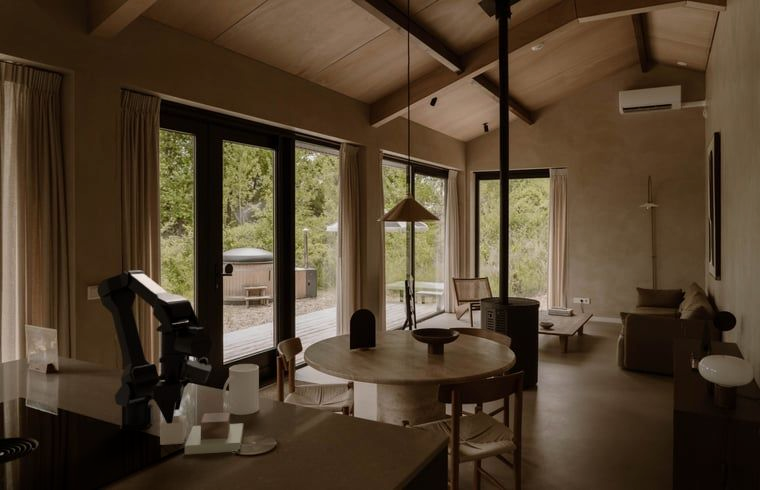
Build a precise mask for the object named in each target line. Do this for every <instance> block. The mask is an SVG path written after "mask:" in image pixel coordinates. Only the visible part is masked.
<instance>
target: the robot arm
mask: <svg viewBox="0 0 760 490" xmlns="http://www.w3.org/2000/svg"><path fill="white" fill-rule="evenodd" d="M96 291H97V294H98V296H99V298H100V301H101V304H102V306H103V307H105V309H106V310H107V311H109V313H111V315H112V319H113V323H114V327H115V332H116V335H117V339H118V343H119V347H120V352H121V355H122V360H123V363H124V369H123V370H122V371H123V372H122V374H121V377H120V382H121V386H120V387H119V389H118V390H117V392H116V393H115V394H114V400H115V404H116V405H117V406H118V405H119V406H121V425H120V427H119V430H120V431H129V430H146V429H148V427H149V426H150V425H151V424H152V422H153V421H154V405H153V404H152V400H153V401H154V402H155V403H156V405H157V406H158V409H159V410H160V412H161V414H162V417H163V419H165V420H166V422H167V424H171V423H172V421H173V416H175V411H179V410H180V408H181V404H182V400H183V399H182V398H183V395H184V391H185V387H187V386H188V384H190V383H191V381H192V380H195V381H198V382H199V383H200V384H206V382H207V380H208V379H209V378H208V377H209V376H210V374H211V373H210V372H211V371H212V368H213V367H212V366H211V364H209V359H208V358H207V357H206V356H208V354H209V353H210V351H211V350H212V345H213V343H212V339H211V338H210V336H209V335H208V334H207V333H205V328H204V327H200V326H201V324H200V322H199V318H198V317H197V314H196V312H195V309H194V308H193V306H192V303H191V301H190V300H189V299H188V298H185V296H181V295H179V294H174V293H170V292H168V291H166V290H165V288H162V286H160V285H159V284H158V283H157V282H155V281H154V280H153V279H151V278H150V277H149V276H147V275H146V272H145V271H144V270H140V269H137V270H133V269H132V270H126V271H123V272H121V273H120V274H118V275H114V276H112V277H109V278H104V279H102V280H101V282H100V283H99V284H98V285H97V290H96ZM137 296H138V297H139V298H140V299H142V300H143V301H144V302H145V303H146V304H147V305H149V306H150V307H151V308H152V309H153V310H152V314H153V315H152V316H154V318H156V320H157V321H158V322H159V323H160V325H158V326H157V328H156V329H155V330H156V332H160V335H161V337H160V339H161V341H160V342H161V343H160V348H161V349H160V356H159V359H158V363H159V364H160V374H159V373H158V367H157V365H156V364H155V363H150V362H149V361H147V360H146V356H145V352H144V349H143V345H142V340H141V337H140V333H139V330H138V325H137V322H136V318H135V314H134V313H135V312H134V310H133V306H134V303H135V300H136V298H137ZM190 357H192V358H196V359H199V360H196V359H195V360H192V359H190Z"/></svg>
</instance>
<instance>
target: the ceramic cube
mask: <svg viewBox="0 0 760 490" xmlns="http://www.w3.org/2000/svg"><path fill="white" fill-rule="evenodd" d="M159 425H160V426H159V428H160V429H159V431H160V434H159V437H160V439H159V441H160V443H159V445H160V446H161V445H162V446H163V445H164V446H165V445H178V444H184V443H185V442H184V441H185V439H186V436H187V415H174V416H173V421H172V423H171V424H167V422H166V420H165V419H164V418H163V419H162V420H161V422H160V424H159Z"/></svg>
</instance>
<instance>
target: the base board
mask: <svg viewBox="0 0 760 490" xmlns="http://www.w3.org/2000/svg"><path fill="white" fill-rule="evenodd" d="M243 433H244V423H243V422H242V423H230V430H229V434H228V438H222V439H204V440H201V425H193V426H192V428H191V430H190V433H189V435H188V437H187V440H186V442H185V444H184V455H197V454H198V455H199V454H201V455H202V454H212V453H213V454H215V453H217V454H218V453H231V452H232V450H236V449H240V450H241V447H240V445H241V446H242V439H243ZM232 453H233V452H232Z"/></svg>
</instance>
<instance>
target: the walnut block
mask: <svg viewBox="0 0 760 490" xmlns="http://www.w3.org/2000/svg"><path fill="white" fill-rule="evenodd" d="M230 424H231V413H230V412H228V411H226V412H211V413H204V414H203V415H202V418H201V420H200V426H201V440H204V439H222V438H228V434H229V430H230Z"/></svg>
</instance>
